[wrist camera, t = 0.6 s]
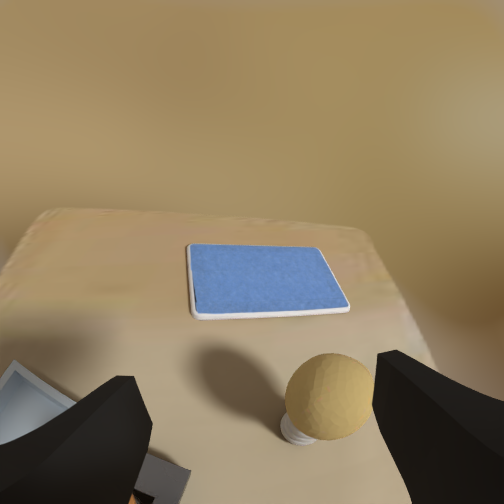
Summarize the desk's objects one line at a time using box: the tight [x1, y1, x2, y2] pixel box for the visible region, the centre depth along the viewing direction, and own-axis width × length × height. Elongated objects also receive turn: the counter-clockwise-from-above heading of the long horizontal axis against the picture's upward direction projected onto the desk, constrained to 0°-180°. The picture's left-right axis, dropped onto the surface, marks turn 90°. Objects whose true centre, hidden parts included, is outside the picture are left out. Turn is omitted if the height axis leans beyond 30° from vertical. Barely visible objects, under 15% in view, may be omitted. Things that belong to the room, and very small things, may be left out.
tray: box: [0, 359, 76, 445], centre depth 15 cm, size 10×10×2 cm
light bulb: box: [280, 353, 374, 446], centre depth 20 cm, size 6×6×10 cm
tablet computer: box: [187, 244, 350, 320], centre depth 38 cm, size 19×13×1 cm, turn 101°
